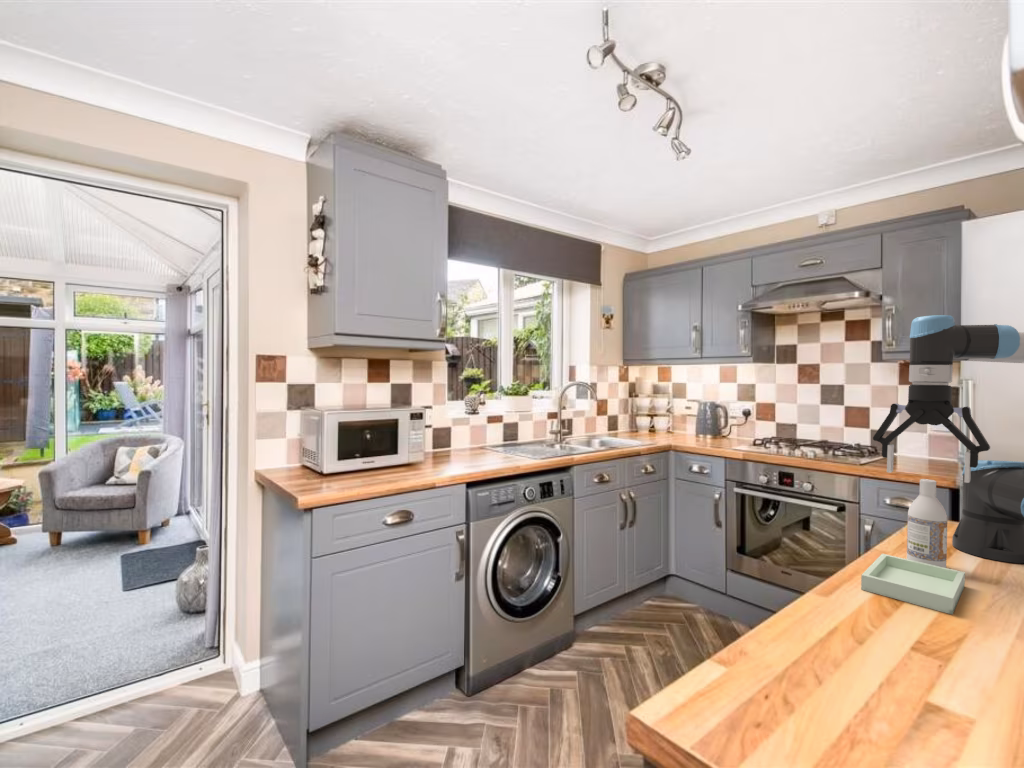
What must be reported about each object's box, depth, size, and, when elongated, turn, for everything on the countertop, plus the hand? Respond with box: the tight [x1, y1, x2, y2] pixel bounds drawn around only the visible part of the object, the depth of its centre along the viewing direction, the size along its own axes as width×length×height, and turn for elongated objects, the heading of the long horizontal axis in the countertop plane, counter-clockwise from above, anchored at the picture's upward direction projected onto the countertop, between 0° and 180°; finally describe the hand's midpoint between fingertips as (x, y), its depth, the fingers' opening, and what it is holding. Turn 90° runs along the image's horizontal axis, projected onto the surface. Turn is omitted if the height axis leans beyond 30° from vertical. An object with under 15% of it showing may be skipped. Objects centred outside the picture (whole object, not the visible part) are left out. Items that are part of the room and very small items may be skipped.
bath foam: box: [906, 478, 948, 568], centre depth 112 cm, size 7×7×20 cm
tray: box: [860, 553, 966, 616], centre depth 101 cm, size 18×14×3 cm
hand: (926, 476), depth 112 cm, fingers open, 13 cm apart
